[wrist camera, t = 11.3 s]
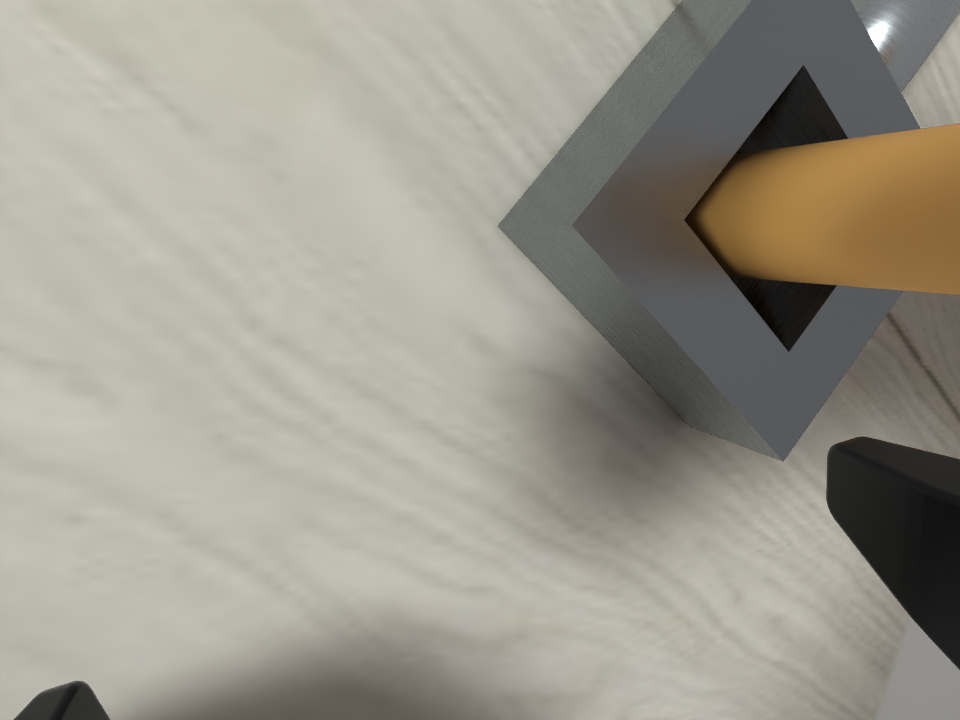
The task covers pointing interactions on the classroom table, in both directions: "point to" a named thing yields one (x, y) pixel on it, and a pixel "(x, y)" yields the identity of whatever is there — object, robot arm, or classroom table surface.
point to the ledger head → (686, 177)
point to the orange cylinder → (841, 212)
